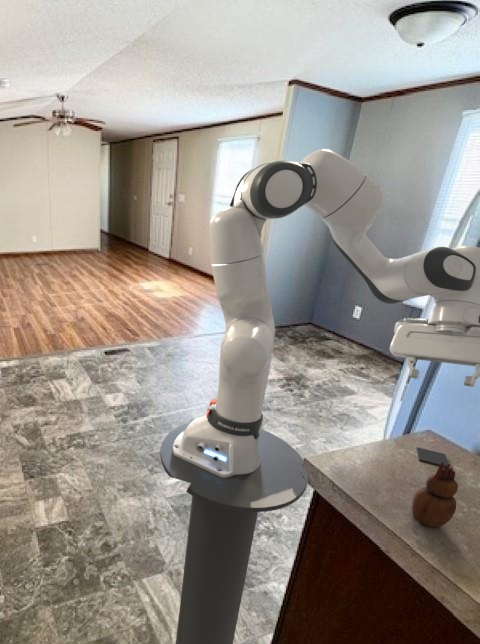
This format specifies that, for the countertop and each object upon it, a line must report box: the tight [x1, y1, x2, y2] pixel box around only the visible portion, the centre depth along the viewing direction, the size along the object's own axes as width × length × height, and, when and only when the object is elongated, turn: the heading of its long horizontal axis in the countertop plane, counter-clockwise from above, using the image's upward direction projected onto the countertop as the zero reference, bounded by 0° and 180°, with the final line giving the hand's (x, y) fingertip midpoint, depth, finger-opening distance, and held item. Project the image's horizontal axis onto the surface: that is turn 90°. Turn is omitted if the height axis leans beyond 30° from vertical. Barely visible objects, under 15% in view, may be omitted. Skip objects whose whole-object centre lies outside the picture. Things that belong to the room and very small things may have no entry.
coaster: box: [416, 446, 449, 468], centre depth 107 cm, size 6×6×1 cm
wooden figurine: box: [410, 462, 459, 528], centre depth 85 cm, size 7×6×15 cm
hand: (439, 381), depth 90 cm, fingers open, 8 cm apart
